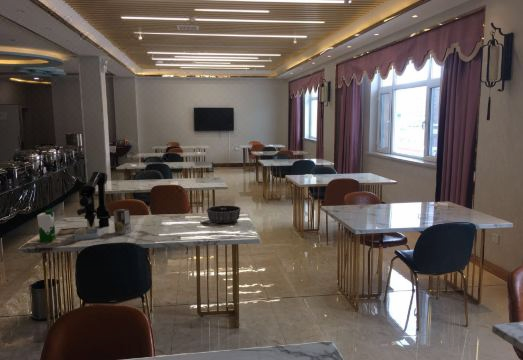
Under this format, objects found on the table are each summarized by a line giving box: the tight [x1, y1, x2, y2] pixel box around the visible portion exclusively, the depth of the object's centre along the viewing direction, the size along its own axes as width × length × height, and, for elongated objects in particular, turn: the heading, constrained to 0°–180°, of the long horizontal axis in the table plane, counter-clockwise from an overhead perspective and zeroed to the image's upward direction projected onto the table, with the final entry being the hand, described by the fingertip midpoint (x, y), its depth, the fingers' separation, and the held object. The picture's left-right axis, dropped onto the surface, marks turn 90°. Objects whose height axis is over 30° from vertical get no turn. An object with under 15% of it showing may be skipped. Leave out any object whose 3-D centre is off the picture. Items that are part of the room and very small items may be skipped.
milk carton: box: [36, 209, 56, 243], centre depth 284 cm, size 9×9×20 cm
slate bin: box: [73, 227, 100, 241], centre depth 295 cm, size 14×14×4 cm
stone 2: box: [86, 218, 96, 229], centre depth 295 cm, size 4×4×6 cm
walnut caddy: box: [57, 226, 87, 236], centre depth 307 cm, size 19×15×1 cm
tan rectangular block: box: [77, 226, 87, 235], centre depth 294 cm, size 4×4×6 cm
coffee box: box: [113, 208, 132, 235], centre depth 303 cm, size 9×6×16 cm
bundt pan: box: [205, 205, 241, 224], centre depth 335 cm, size 26×26×10 cm
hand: (91, 226), depth 295 cm, fingers closed on stone 2, 4 cm apart
